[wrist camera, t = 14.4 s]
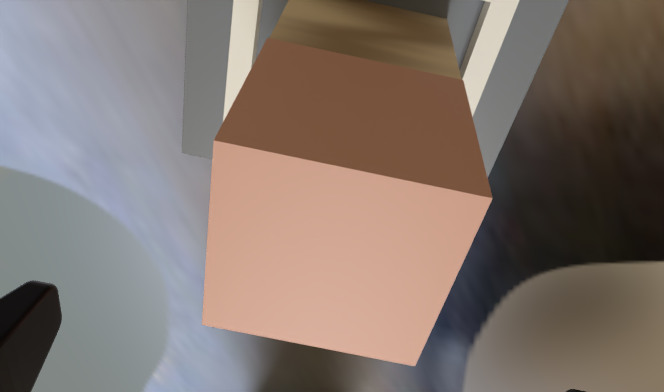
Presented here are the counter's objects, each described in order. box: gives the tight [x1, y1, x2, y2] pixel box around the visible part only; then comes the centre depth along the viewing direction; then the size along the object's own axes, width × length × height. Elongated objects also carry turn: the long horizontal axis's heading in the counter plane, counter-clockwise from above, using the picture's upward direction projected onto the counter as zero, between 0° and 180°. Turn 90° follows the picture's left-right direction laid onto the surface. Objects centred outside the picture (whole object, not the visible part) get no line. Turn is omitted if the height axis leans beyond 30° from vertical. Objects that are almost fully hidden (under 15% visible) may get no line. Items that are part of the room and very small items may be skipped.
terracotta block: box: [202, 38, 492, 366], centre depth 13 cm, size 5×5×5 cm
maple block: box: [269, 0, 462, 80], centre depth 17 cm, size 5×5×5 cm
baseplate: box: [182, 0, 569, 178], centre depth 19 cm, size 12×10×2 cm
